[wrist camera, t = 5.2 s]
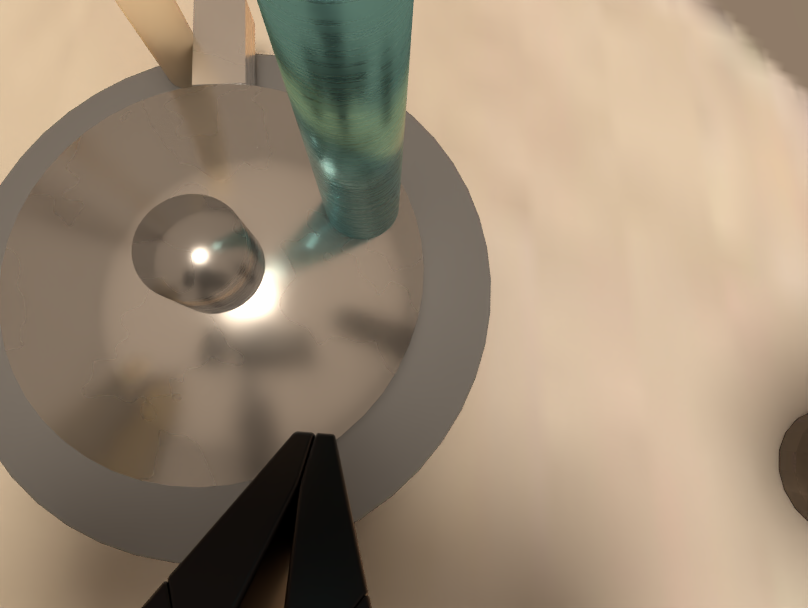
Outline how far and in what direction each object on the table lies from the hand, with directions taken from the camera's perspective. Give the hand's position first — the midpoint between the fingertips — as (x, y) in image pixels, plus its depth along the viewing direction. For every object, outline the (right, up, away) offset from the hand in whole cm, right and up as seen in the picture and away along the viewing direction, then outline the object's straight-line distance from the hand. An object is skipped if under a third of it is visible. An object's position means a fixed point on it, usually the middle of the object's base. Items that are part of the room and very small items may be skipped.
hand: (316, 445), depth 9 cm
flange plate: (-4, +5, +6) cm, 9 cm away
